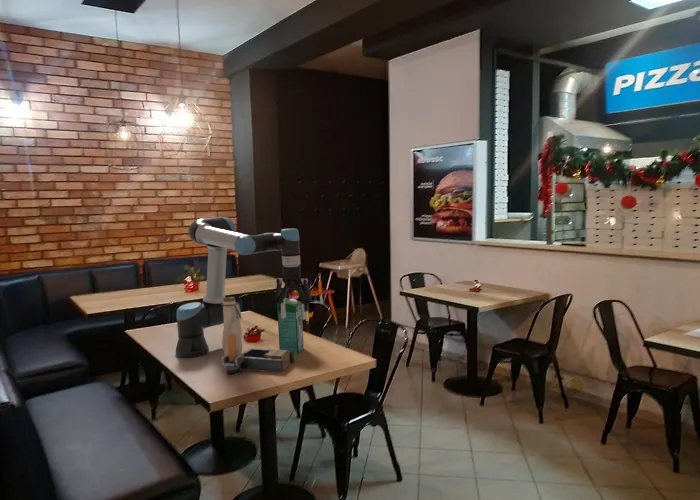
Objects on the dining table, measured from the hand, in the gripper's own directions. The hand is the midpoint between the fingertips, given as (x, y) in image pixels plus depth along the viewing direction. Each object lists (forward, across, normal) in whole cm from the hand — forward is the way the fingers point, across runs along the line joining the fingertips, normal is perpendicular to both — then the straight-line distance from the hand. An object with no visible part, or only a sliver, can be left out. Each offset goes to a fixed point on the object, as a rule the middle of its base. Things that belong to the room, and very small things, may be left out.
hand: (294, 318), depth 219 cm
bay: (+21, -15, 0) cm, 26 cm away
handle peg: (+17, -24, -11) cm, 32 cm away
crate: (+21, -9, 0) cm, 23 cm away
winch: (+21, -24, -11) cm, 34 cm away
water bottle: (+22, -34, +6) cm, 41 cm away
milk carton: (+22, -12, +21) cm, 33 cm away
